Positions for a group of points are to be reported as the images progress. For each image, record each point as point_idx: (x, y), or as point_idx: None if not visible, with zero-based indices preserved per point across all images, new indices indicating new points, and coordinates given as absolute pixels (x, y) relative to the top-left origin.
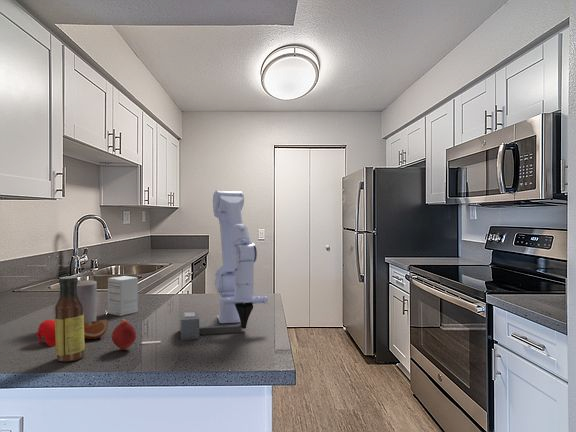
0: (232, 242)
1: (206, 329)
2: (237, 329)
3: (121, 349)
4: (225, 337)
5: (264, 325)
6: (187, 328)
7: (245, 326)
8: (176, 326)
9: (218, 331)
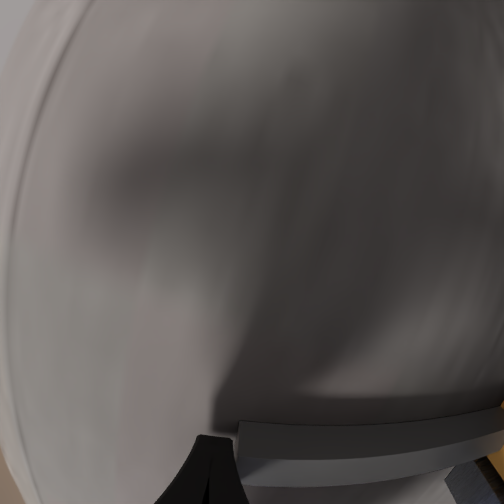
0: None
1: (477, 430)
2: (273, 440)
3: None
4: (413, 324)
5: (69, 461)
6: None
7: (202, 444)
8: None
9: (410, 430)
